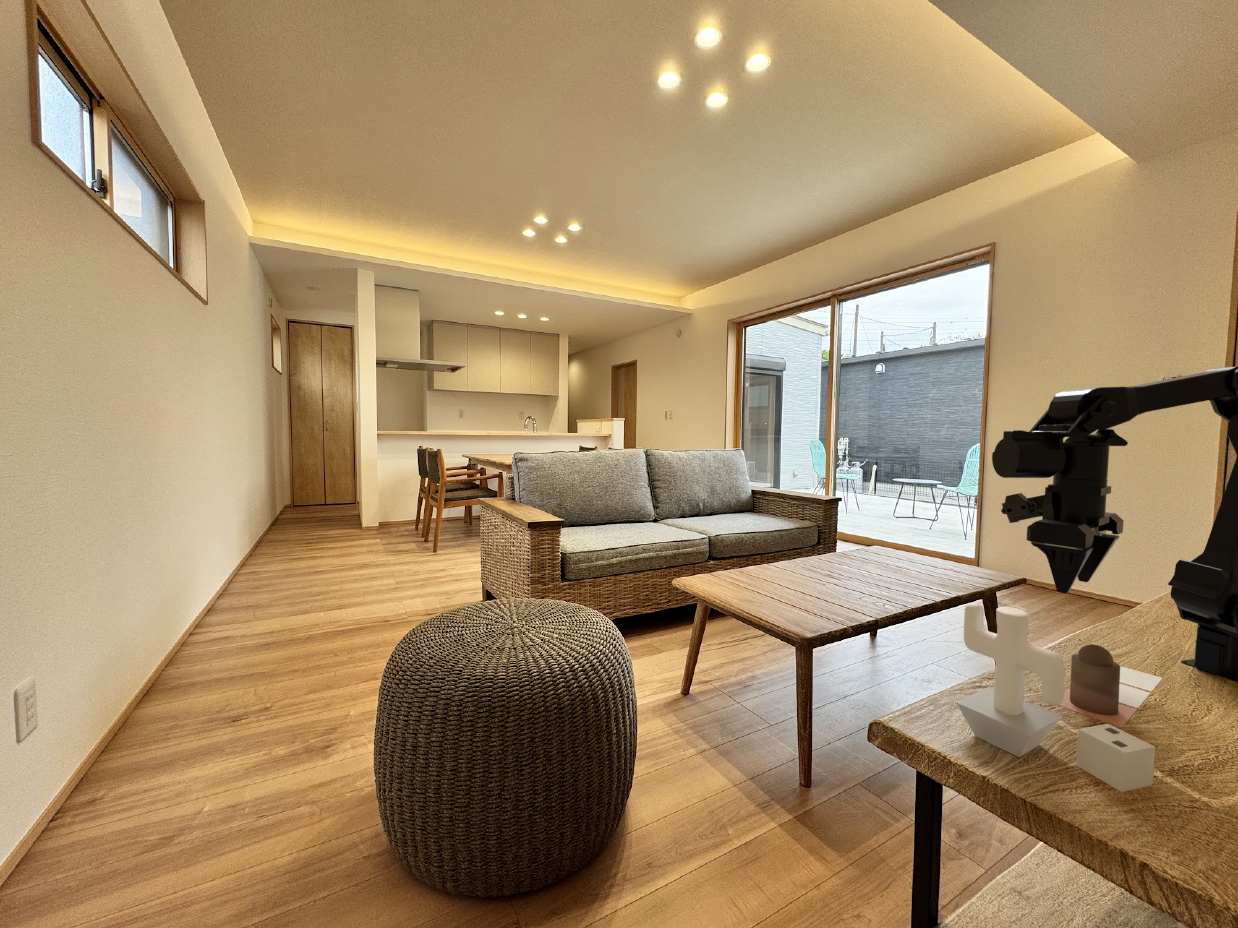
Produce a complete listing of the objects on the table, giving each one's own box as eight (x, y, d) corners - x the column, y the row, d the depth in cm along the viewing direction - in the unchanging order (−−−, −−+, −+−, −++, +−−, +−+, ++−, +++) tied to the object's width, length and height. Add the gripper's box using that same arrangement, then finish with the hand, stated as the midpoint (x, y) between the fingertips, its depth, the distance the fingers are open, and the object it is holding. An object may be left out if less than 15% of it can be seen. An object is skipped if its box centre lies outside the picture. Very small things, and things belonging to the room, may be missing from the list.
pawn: (1086, 694, 66) (1089, 636, 66) (1127, 712, 62) (1130, 650, 62) (1060, 699, 65) (1063, 640, 65) (1100, 717, 61) (1103, 654, 61)
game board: (1094, 660, 77) (1094, 657, 77) (1172, 681, 71) (1172, 678, 71) (1041, 705, 65) (1041, 701, 65) (1129, 736, 58) (1130, 732, 58)
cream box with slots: (1105, 760, 54) (1107, 722, 54) (1152, 785, 50) (1155, 745, 50) (1076, 765, 53) (1078, 728, 53) (1121, 792, 50) (1124, 751, 49)
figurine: (1041, 775, 52) (1049, 629, 51) (944, 727, 60) (949, 601, 59) (1074, 753, 55) (1082, 616, 54) (978, 711, 63) (983, 591, 62)
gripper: (1034, 471, 85) (1028, 564, 86) (985, 477, 74) (980, 584, 75) (1127, 476, 76) (1120, 581, 77) (1087, 484, 65) (1080, 605, 66)
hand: (1073, 586), depth 74 cm, fingers open, 9 cm apart
